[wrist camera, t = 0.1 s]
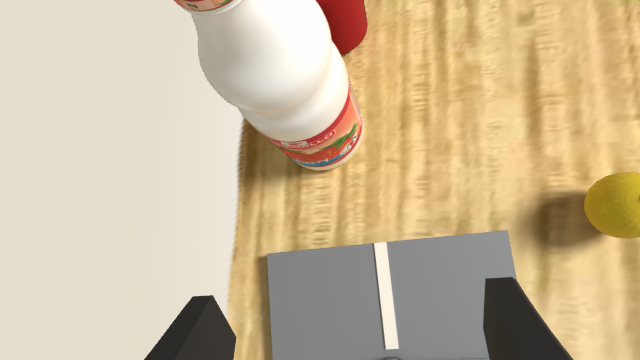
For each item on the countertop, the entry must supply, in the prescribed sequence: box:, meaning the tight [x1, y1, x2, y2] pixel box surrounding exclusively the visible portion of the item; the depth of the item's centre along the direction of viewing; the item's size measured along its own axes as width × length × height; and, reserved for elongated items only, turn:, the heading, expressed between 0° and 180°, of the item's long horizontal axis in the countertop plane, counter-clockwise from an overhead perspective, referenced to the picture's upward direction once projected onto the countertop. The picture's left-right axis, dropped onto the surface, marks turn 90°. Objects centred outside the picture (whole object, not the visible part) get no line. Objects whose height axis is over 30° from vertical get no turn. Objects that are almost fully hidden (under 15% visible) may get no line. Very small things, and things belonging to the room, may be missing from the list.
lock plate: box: [267, 230, 517, 360], centre depth 39 cm, size 16×24×4 cm, turn 95°
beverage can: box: [316, 0, 367, 54], centre depth 43 cm, size 7×7×12 cm
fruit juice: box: [174, 0, 364, 170], centre depth 33 cm, size 9×9×28 cm
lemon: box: [584, 172, 640, 238], centre depth 35 cm, size 6×6×8 cm
